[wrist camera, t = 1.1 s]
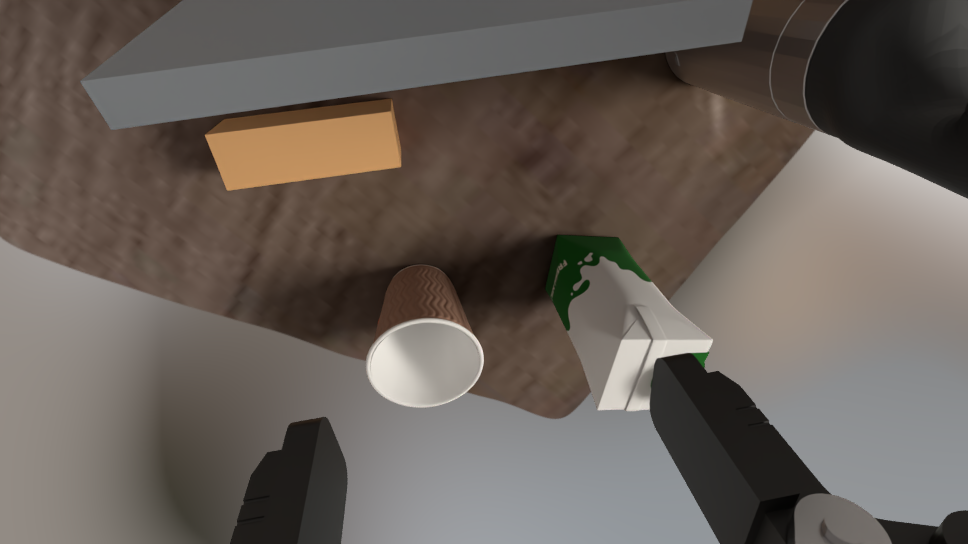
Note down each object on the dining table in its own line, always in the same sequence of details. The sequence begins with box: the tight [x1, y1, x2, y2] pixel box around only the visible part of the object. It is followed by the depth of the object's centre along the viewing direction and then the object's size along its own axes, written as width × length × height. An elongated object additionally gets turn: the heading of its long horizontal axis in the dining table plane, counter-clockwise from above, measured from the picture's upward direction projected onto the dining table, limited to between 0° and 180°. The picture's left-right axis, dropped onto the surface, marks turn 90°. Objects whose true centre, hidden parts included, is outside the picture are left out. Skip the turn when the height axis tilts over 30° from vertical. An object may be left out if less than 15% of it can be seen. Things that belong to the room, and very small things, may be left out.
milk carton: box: [545, 235, 713, 411], centre depth 44 cm, size 9×9×20 cm
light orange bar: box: [205, 98, 401, 191], centre depth 39 cm, size 14×4×5 cm, turn 95°
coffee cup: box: [366, 264, 484, 407], centre depth 46 cm, size 10×10×12 cm
